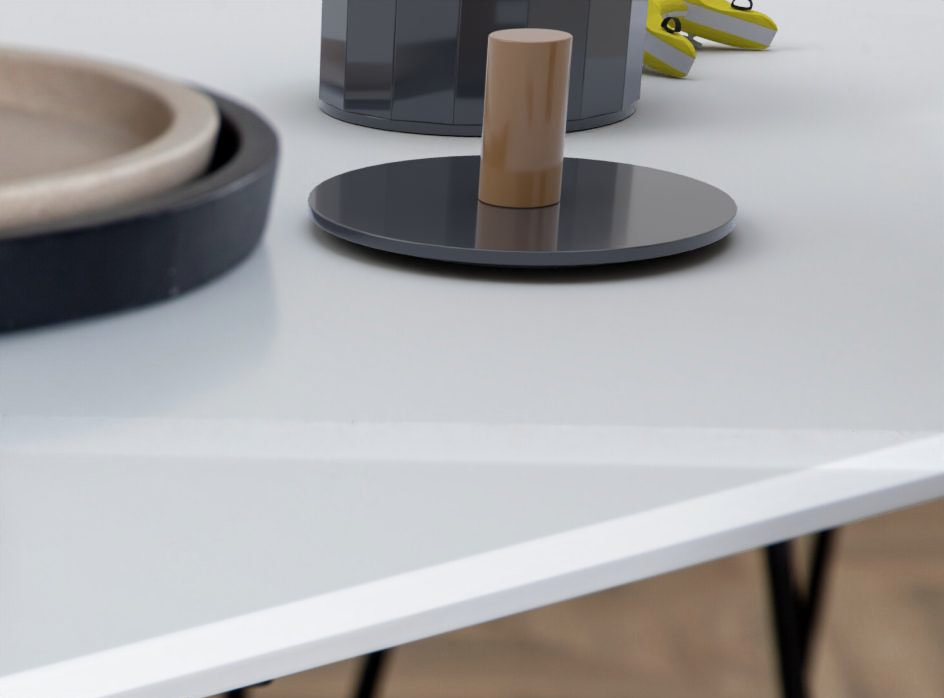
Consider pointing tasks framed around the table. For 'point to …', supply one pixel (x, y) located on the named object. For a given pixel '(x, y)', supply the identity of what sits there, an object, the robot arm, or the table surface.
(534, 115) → the tin lid
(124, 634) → the table surface
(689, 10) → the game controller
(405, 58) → the tin
